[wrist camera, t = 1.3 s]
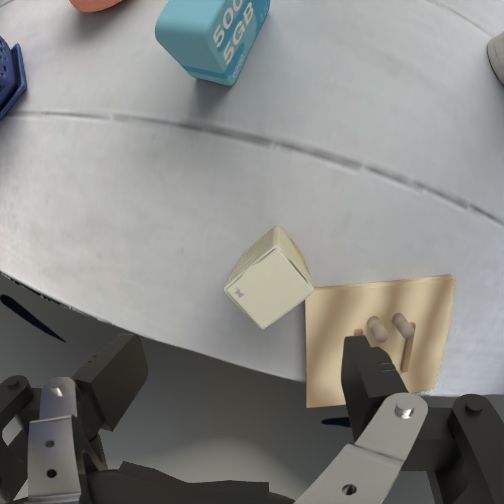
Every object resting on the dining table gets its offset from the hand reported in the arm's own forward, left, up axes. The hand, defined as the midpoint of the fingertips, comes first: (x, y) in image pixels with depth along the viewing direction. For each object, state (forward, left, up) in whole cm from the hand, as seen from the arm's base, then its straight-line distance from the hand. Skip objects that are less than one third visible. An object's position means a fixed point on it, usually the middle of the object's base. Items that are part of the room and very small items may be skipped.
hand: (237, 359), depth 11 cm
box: (-1, +1, -21) cm, 21 cm away
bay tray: (-13, +13, -21) cm, 27 cm away
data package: (+1, -23, -21) cm, 31 cm away
